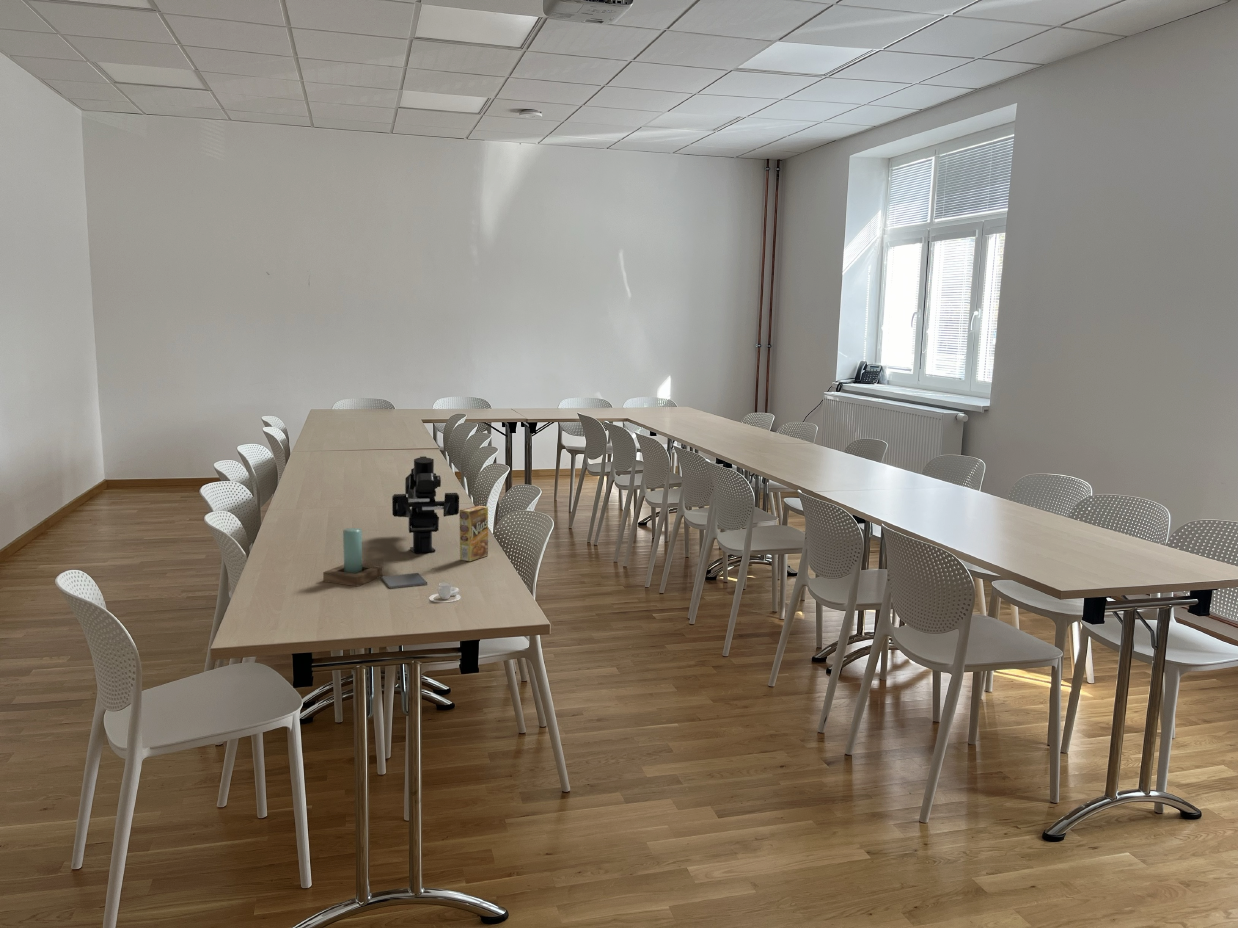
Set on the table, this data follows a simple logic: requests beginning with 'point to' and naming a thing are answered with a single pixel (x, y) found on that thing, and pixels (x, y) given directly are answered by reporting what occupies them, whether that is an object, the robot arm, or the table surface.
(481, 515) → the candy box
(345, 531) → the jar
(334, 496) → the table surface
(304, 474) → the table surface
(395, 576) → the coaster
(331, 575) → the pocket block
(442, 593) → the teacup and saucer
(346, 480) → the table surface
